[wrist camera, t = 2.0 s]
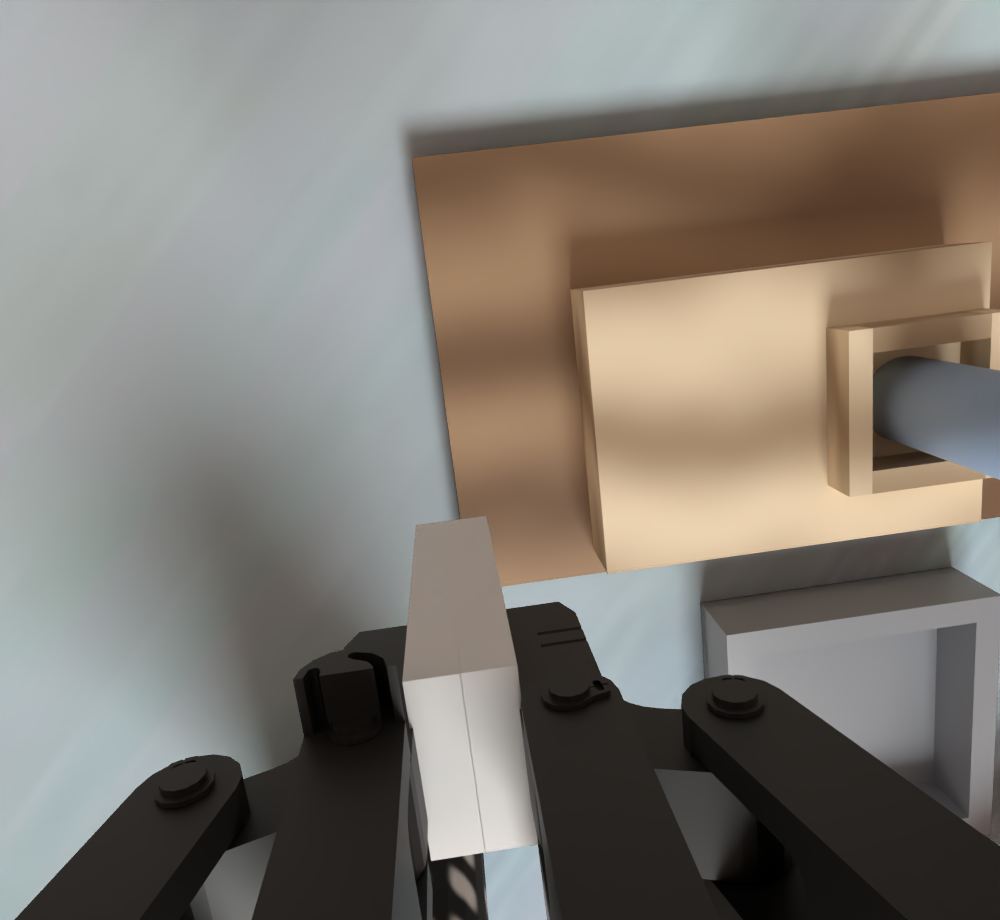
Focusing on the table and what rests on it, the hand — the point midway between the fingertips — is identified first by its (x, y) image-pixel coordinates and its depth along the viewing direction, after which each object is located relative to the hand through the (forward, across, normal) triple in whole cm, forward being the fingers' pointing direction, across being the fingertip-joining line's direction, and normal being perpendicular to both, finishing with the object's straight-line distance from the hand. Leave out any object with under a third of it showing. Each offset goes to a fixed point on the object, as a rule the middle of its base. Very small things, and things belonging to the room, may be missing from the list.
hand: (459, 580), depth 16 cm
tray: (+14, +15, -14) cm, 25 cm away
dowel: (+10, +16, 0) cm, 19 cm away
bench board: (+14, +13, +2) cm, 19 cm away
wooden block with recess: (+13, +12, 0) cm, 17 cm away
